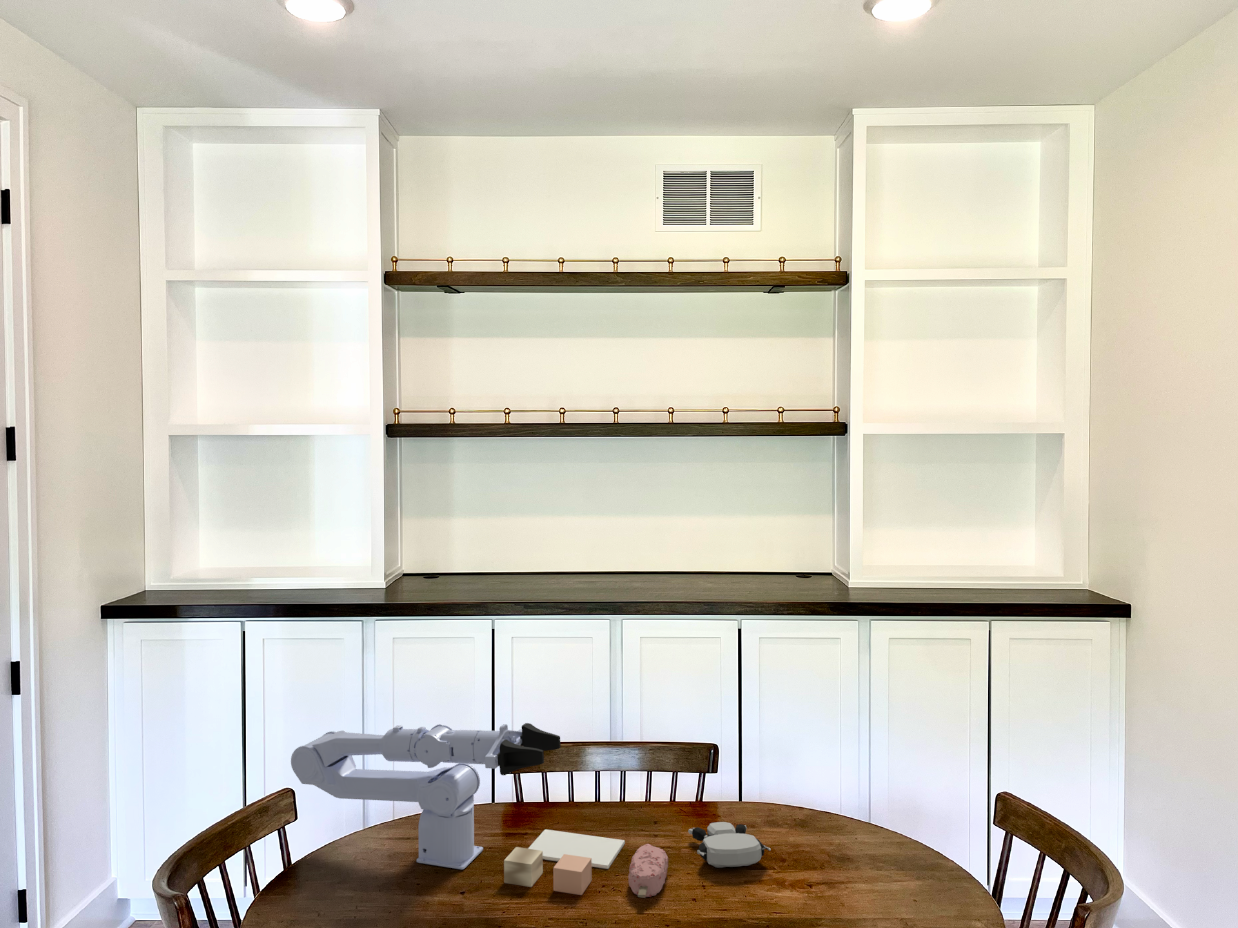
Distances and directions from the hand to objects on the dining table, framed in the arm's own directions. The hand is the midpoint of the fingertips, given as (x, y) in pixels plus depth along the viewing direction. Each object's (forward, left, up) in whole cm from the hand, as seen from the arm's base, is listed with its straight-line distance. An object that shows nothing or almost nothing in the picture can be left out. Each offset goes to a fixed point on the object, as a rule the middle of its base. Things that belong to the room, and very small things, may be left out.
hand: (551, 749), depth 148 cm
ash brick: (-4, -3, -22) cm, 22 cm away
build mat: (+1, +9, -22) cm, 23 cm away
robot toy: (+28, +15, -22) cm, 39 cm away
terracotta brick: (+5, -3, -22) cm, 23 cm away
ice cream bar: (+17, +1, -22) cm, 28 cm away
